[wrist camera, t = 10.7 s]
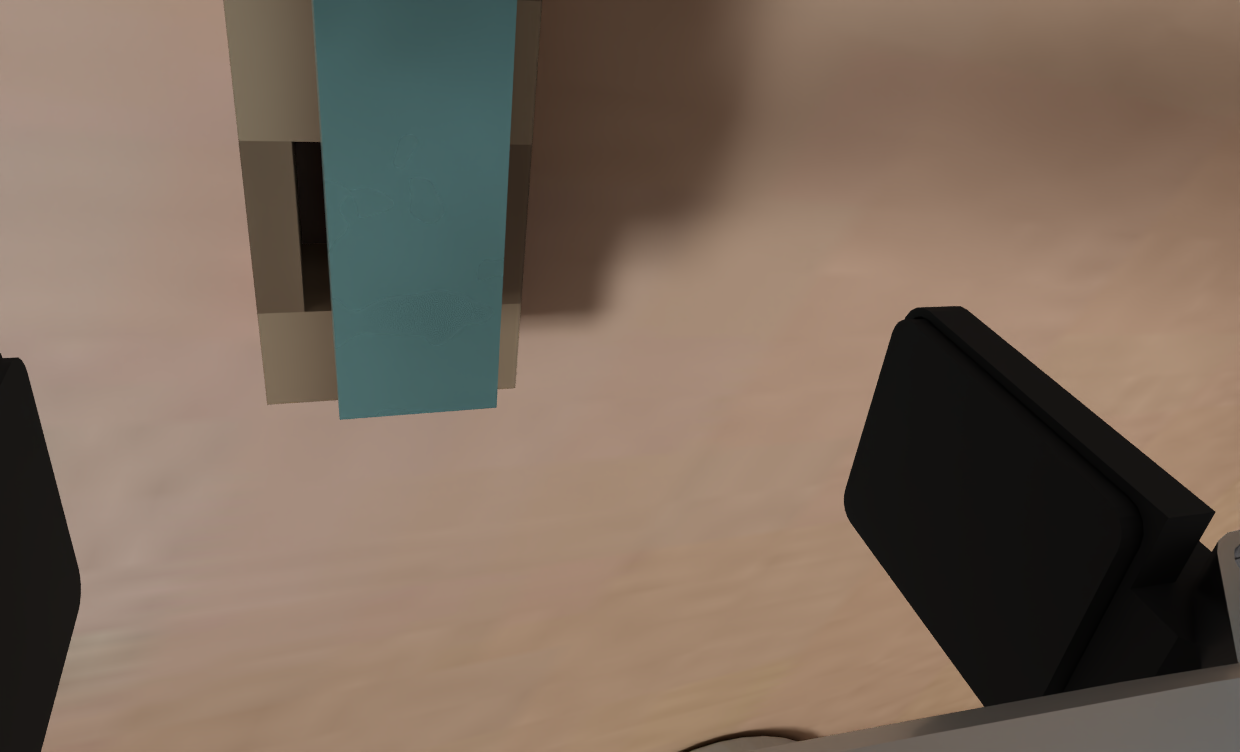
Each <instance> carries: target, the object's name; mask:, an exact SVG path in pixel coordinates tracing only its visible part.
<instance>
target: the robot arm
mask: <svg viewBox="0 0 1240 752" xmlns="http://www.w3.org/2000/svg"><path fill="white" fill-rule="evenodd" d="M844 506H845V511H846V514H847V517H848V519H849V521H850V523H851V524H852V525H853V527H854V528H855V529H856V531H857V532H858V534H859V535H860V536H861V538H862V539H863V540H864V542H865V543H866V545H867V546H868V547H869V549H870V550H871V551H872V553H873V554H874V556H875V557H876V558H877V560H878V561H879V562H880V564H881V565H882V567H883V568H884V569H885V571H886V572H887V573H888V575H889V576H890V578H891V579H892V580H893V582H894V583H895V584H896V586H897V587H898V589H899V590H900V591H901V593H902V594H903V595H904V597H905V598H906V600H907V601H908V602H909V604H910V605H911V606H912V608H913V609H914V611H915V612H916V613H917V615H918V616H919V617H920V619H921V620H922V622H923V623H924V624H925V626H926V627H927V628H928V630H929V631H930V633H931V634H932V635H933V637H934V638H935V639H936V641H937V642H938V644H939V645H940V646H941V648H942V649H943V650H944V652H945V653H946V655H947V656H948V657H949V659H950V660H951V661H952V663H953V664H954V666H955V667H956V668H957V670H958V671H959V672H960V674H961V675H962V677H963V678H964V679H965V681H966V682H967V683H968V685H969V686H970V688H971V689H972V690H973V692H974V693H975V694H976V696H977V697H978V699H979V700H980V701H981V703H982V704H983V705H984V707H982V708H977V709H971V710H966V711H960V712H955V713H949V714H944V715H938V716H933V717H927V718H922V719H916V720H911V721H905V722H900V723H895V724H889V725H884V726H879V727H873V728H868V729H863V730H857V731H852V732H847V733H841V734H836V735H831V736H825V737H820V738H815V739H809V740H804V741H799V742H797V741H794V740H790V739H787V738H783V737H771V736H754V737H741V738H736V739H731V740H726V741H721V742H717V743H714V744H710V745H707V746H704V747H701V748H698V749H695V750H692V751H690V752H1240V530H1238V531H1233V532H1229V533H1227V534H1225V535H1224V536H1223V537H1222V538H1221V539H1220V540H1219V541H1218V543H1217V544H1216V546H1215V548H1214V549H1213V551H1212V552H1211V551H1210V550H1209V549H1208V548H1206V547H1205V546H1204V545H1203V544H1202V543H1201V542H1200V541H1199V540H1200V538H1201V536H1202V535H1203V533H1204V531H1205V529H1206V528H1207V526H1208V524H1209V522H1210V521H1211V519H1212V517H1213V515H1214V514H1215V511H1214V510H1213V509H1211V508H1210V507H1209V506H1208V505H1206V504H1205V503H1204V502H1203V501H1202V500H1200V499H1199V498H1198V497H1197V496H1195V495H1194V494H1193V493H1192V492H1190V491H1189V490H1188V489H1187V488H1186V487H1184V486H1183V485H1182V484H1181V483H1179V482H1178V481H1177V480H1176V479H1174V478H1173V477H1172V476H1171V475H1170V474H1168V473H1167V472H1166V471H1165V470H1163V469H1162V468H1161V467H1160V466H1158V465H1157V464H1156V463H1155V462H1154V461H1152V460H1151V459H1150V458H1149V457H1147V456H1146V455H1145V454H1144V453H1142V452H1141V451H1140V450H1139V449H1138V448H1136V447H1135V446H1134V445H1133V444H1131V443H1130V442H1129V441H1128V440H1127V439H1125V438H1124V437H1123V436H1122V435H1120V434H1119V433H1118V432H1117V431H1115V430H1114V429H1113V428H1112V427H1111V426H1109V425H1108V424H1107V423H1106V422H1104V421H1103V420H1102V419H1101V418H1099V417H1098V416H1097V415H1096V414H1095V413H1093V412H1092V411H1091V410H1090V409H1088V408H1087V407H1086V406H1085V405H1083V404H1082V403H1081V402H1080V401H1079V400H1077V399H1076V398H1075V397H1074V396H1072V395H1071V394H1070V393H1069V392H1067V391H1066V390H1065V389H1064V388H1063V387H1061V386H1060V385H1059V384H1058V383H1056V382H1055V381H1054V380H1053V379H1052V378H1050V377H1049V376H1048V375H1047V374H1045V373H1044V372H1043V371H1042V370H1040V369H1039V368H1038V367H1037V366H1036V365H1034V364H1033V363H1032V362H1031V361H1029V360H1028V359H1027V358H1026V357H1024V356H1023V355H1022V354H1021V353H1020V352H1018V351H1017V350H1016V349H1015V348H1013V347H1012V346H1011V345H1010V344H1008V343H1007V342H1006V341H1005V340H1004V339H1002V338H1001V337H1000V336H999V335H997V334H996V333H995V332H994V331H992V330H991V329H990V328H989V327H988V326H986V325H985V324H984V323H983V322H981V321H980V320H979V319H978V318H977V317H975V316H974V315H973V314H972V313H970V312H969V311H968V310H966V309H965V308H963V307H961V306H947V307H921V308H915V309H913V310H911V311H910V312H909V314H908V315H907V316H906V317H905V320H902V321H900V322H898V324H897V325H896V326H895V328H894V330H893V332H892V335H891V339H890V342H889V345H888V349H887V352H886V355H885V359H884V362H883V365H882V369H881V372H880V375H879V379H878V382H877V385H876V389H875V392H874V395H873V399H872V402H871V405H870V409H869V412H868V415H867V419H866V422H865V426H864V429H863V432H862V436H861V439H860V442H859V446H858V449H857V452H856V456H855V459H854V462H853V466H852V469H851V472H850V476H849V479H848V482H847V486H846V489H845V494H844ZM80 597H81V583H80V574H79V569H78V565H77V561H76V557H75V553H74V549H73V545H72V542H71V538H70V534H69V530H68V526H67V522H66V519H65V515H64V511H63V507H62V503H61V499H60V496H59V492H58V488H57V484H56V480H55V476H54V473H53V469H52V465H51V461H50V457H49V453H48V450H47V446H46V442H45V438H44V434H43V430H42V427H41V423H40V419H39V415H38V411H37V407H36V404H35V400H34V396H33V392H32V388H31V384H30V381H29V377H28V373H27V370H26V367H25V365H24V363H23V361H22V360H21V359H19V358H2V355H1V353H0V752H41V749H42V745H43V742H44V738H45V734H46V730H47V727H48V723H49V719H50V715H51V712H52V708H53V704H54V700H55V697H56V693H57V689H58V685H59V682H60V678H61V674H62V671H63V667H64V663H65V659H66V656H67V652H68V648H69V644H70V641H71V637H72V633H73V629H74V626H75V622H76V618H77V614H78V610H79V605H80Z"/></svg>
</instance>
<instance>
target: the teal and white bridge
mask: <svg viewBox="0 0 1240 752" xmlns="http://www.w3.org/2000/svg"><path fill="white" fill-rule="evenodd" d="M311 2H312V18H313V33H314V49H315V64H316V80H317V95H318V111H319V126H320V142H321V157H322V173H323V188H324V204H325V219H326V234H327V250H328V265H329V281H330V296H331V312H332V327H333V342H334V354H335V366H336V379H337V391H338V403H339V415H340V420H341V419H354V418H367V417H380V416H393V415H406V414H419V413H432V412H445V411H458V410H471V409H484V408H496V407H497V388H498V368H499V348H500V328H501V309H502V289H503V269H504V249H505V230H506V210H507V190H508V170H509V151H510V131H511V111H512V91H513V72H514V52H515V32H516V13H517V0H311Z"/></svg>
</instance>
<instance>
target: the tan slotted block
mask: <svg viewBox="0 0 1240 752" xmlns="http://www.w3.org/2000/svg"><path fill="white" fill-rule="evenodd" d="M223 2H224V11H225V20H226V29H227V39H228V48H229V57H230V66H231V75H232V85H233V94H234V103H235V112H236V121H237V131H238V140H239V149H240V158H241V167H242V177H243V186H244V195H245V204H246V213H247V223H248V232H249V241H250V250H251V259H252V269H253V278H254V287H255V296H256V305H257V315H258V324H259V333H260V342H261V351H262V361H263V370H264V379H265V388H266V397H267V405H269V404H284V403H299V402H314V401H329V400H338V391H337V379H336V366H335V354H334V342H333V327H332V312H331V296H330V281H329V265H328V250H327V243H321V244H302V237H301V223H300V210H299V196H298V183H297V170H296V156H295V143H294V142H320V126H319V111H318V95H317V80H316V64H315V49H314V33H313V18H312V2H311V0H223ZM541 8H542V0H517V13H516V32H515V52H514V72H513V91H512V111H511V131H510V151H509V170H508V190H507V210H506V230H505V249H504V269H503V289H502V309H501V328H500V348H499V368H498V388H497V389H509V388H515V383H516V368H517V354H518V340H519V325H520V311H521V296H522V282H523V268H524V253H525V239H526V224H527V210H528V195H529V181H530V167H531V152H532V138H533V123H534V109H535V95H536V80H537V66H538V51H539V37H540V22H541Z"/></svg>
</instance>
